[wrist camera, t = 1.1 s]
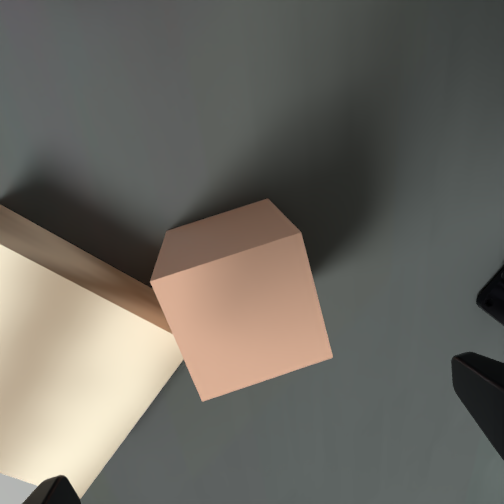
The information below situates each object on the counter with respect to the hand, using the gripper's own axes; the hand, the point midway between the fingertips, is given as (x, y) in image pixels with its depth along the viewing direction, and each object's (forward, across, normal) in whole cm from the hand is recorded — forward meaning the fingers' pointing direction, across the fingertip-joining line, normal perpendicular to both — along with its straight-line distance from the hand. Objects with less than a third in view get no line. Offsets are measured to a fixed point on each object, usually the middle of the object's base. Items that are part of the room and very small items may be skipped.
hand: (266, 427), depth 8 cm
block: (+10, 0, 0) cm, 10 cm away
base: (+10, +10, +1) cm, 14 cm away
